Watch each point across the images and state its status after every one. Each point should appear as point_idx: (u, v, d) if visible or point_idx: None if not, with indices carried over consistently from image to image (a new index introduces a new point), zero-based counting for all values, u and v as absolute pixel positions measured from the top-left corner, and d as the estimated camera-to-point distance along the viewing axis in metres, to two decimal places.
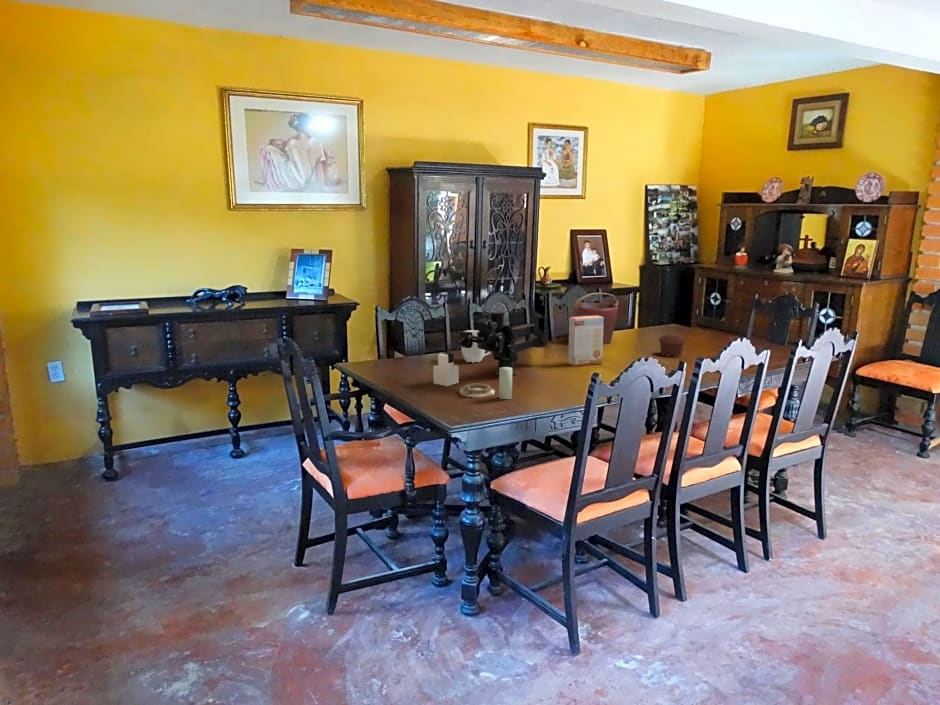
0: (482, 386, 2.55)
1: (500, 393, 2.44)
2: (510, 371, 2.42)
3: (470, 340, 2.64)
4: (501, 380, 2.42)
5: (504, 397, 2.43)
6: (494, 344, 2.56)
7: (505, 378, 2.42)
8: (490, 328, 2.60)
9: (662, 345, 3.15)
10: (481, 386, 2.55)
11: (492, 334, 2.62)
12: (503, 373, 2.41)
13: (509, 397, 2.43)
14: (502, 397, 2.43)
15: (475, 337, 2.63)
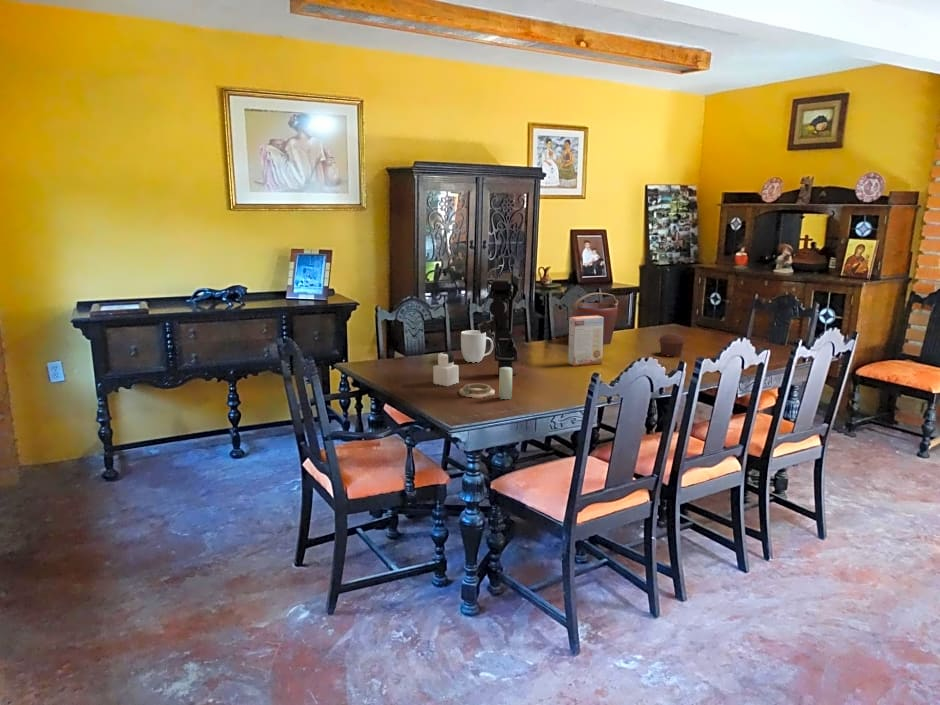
0: (482, 386, 2.55)
1: (500, 393, 2.44)
2: (510, 371, 2.42)
3: None
4: (501, 380, 2.42)
5: (504, 397, 2.43)
6: (502, 340, 2.50)
7: (506, 378, 2.42)
8: None
9: (662, 345, 3.15)
10: (481, 386, 2.55)
11: (494, 325, 2.53)
12: (503, 373, 2.41)
13: (509, 397, 2.43)
14: (502, 397, 2.43)
15: None
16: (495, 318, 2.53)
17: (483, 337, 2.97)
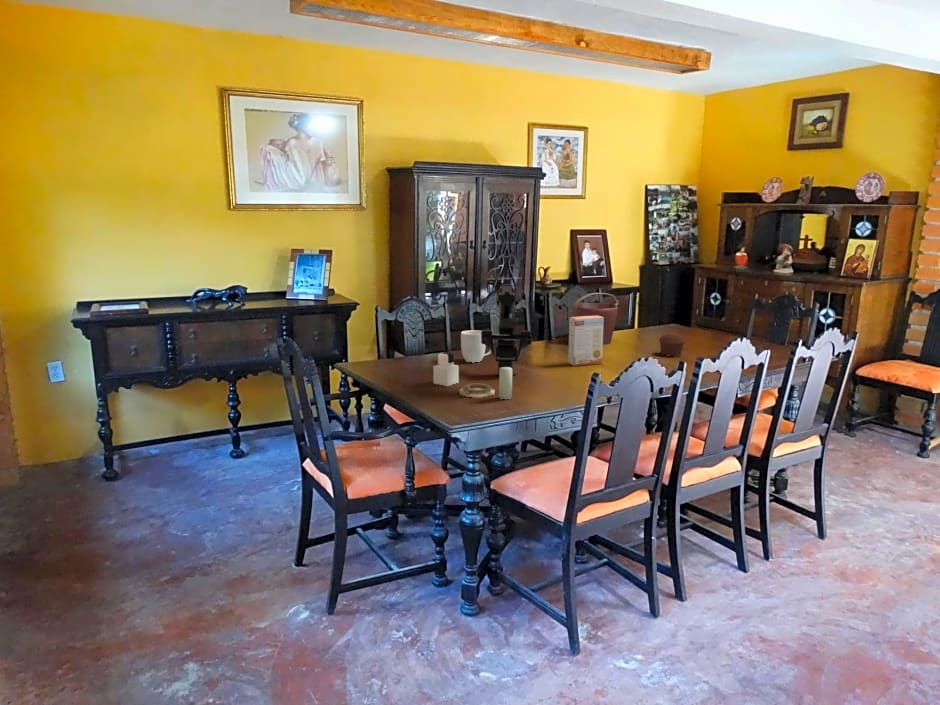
0: (482, 386, 2.55)
1: (500, 393, 2.44)
2: (510, 371, 2.42)
3: (493, 338, 2.55)
4: (501, 380, 2.42)
5: (504, 397, 2.43)
6: (526, 341, 2.53)
7: (506, 378, 2.42)
8: None
9: (662, 345, 3.15)
10: (481, 386, 2.55)
11: None
12: (503, 373, 2.41)
13: (509, 397, 2.43)
14: (502, 397, 2.43)
15: (498, 335, 2.54)
16: None
17: None
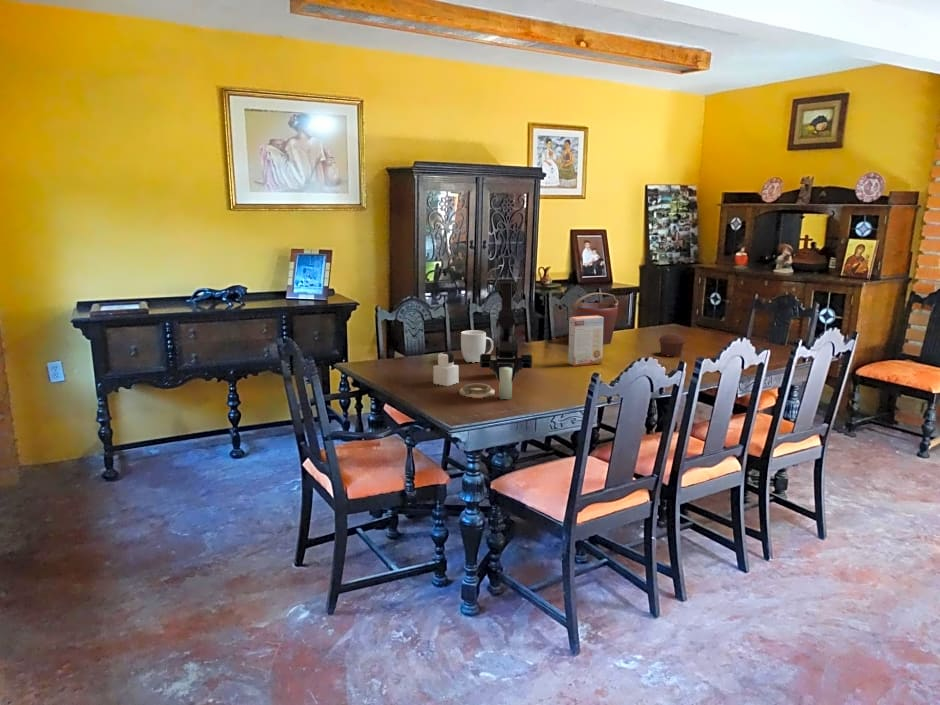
0: (482, 386, 2.55)
1: (500, 393, 2.44)
2: (510, 371, 2.42)
3: None
4: (501, 380, 2.42)
5: (504, 397, 2.43)
6: (520, 365, 2.46)
7: (505, 378, 2.41)
8: (514, 349, 2.44)
9: (662, 345, 3.15)
10: (481, 386, 2.55)
11: (514, 349, 2.47)
12: (503, 373, 2.41)
13: (509, 397, 2.43)
14: (502, 397, 2.43)
15: (503, 358, 2.47)
16: None
17: (483, 337, 2.97)
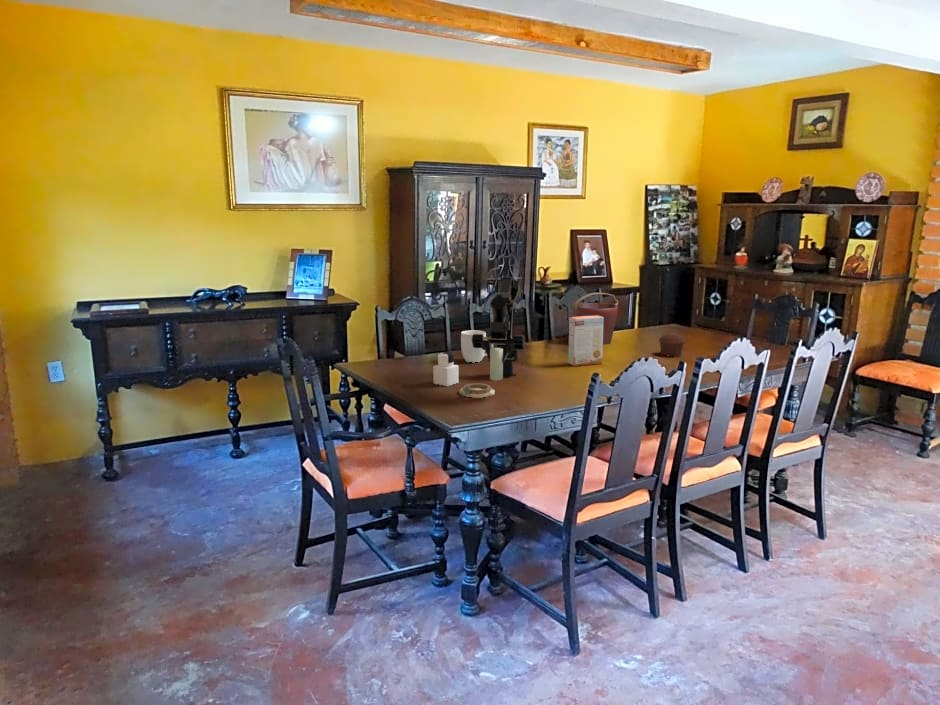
0: (482, 386, 2.55)
1: (490, 373, 2.44)
2: (500, 352, 2.42)
3: None
4: (491, 360, 2.43)
5: (494, 377, 2.43)
6: (512, 346, 2.46)
7: (495, 359, 2.42)
8: (506, 330, 2.44)
9: (662, 345, 3.15)
10: (481, 386, 2.55)
11: (506, 330, 2.47)
12: (493, 353, 2.42)
13: (499, 378, 2.44)
14: (493, 378, 2.44)
15: (495, 339, 2.47)
16: None
17: None
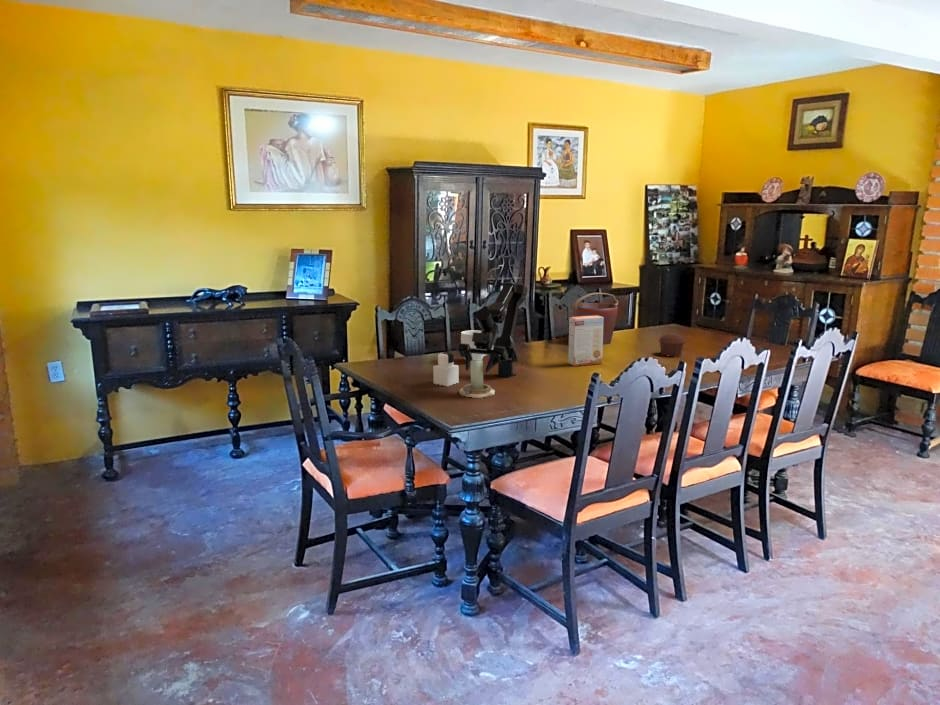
0: None
1: (471, 385, 2.51)
2: (479, 364, 2.47)
3: None
4: (471, 372, 2.49)
5: (473, 389, 2.50)
6: (498, 357, 2.50)
7: (474, 371, 2.48)
8: (487, 341, 2.49)
9: (662, 345, 3.15)
10: None
11: (490, 341, 2.52)
12: (472, 365, 2.48)
13: None
14: (472, 389, 2.50)
15: (476, 349, 2.53)
16: None
17: None
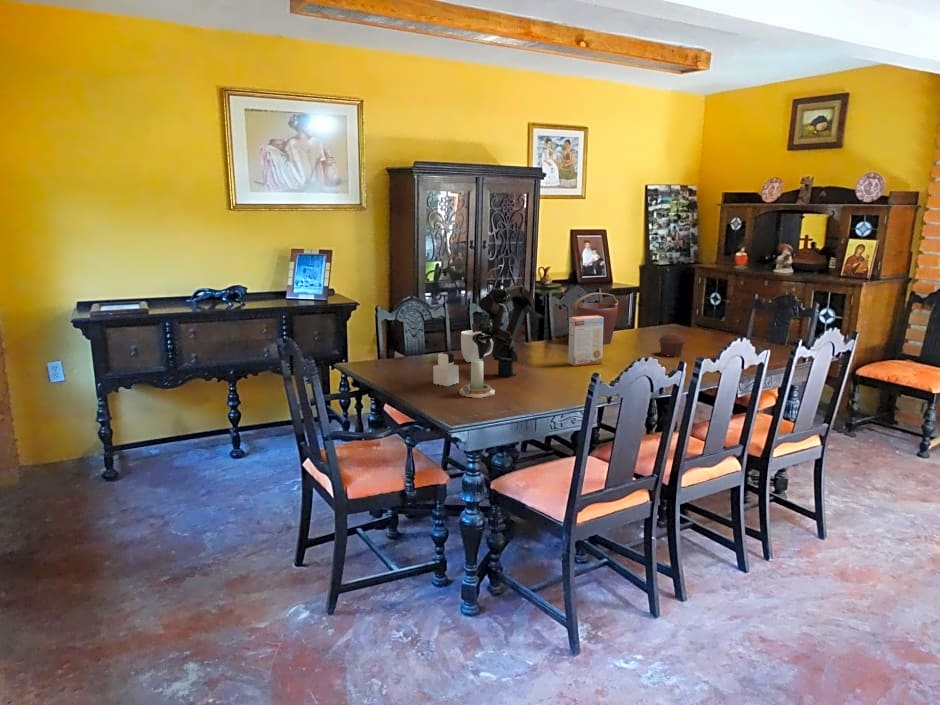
0: None
1: (471, 385, 2.51)
2: (479, 364, 2.47)
3: (484, 340, 2.66)
4: (471, 372, 2.49)
5: (473, 389, 2.50)
6: (500, 339, 2.55)
7: (474, 371, 2.48)
8: (485, 327, 2.57)
9: (662, 345, 3.15)
10: None
11: (491, 326, 2.59)
12: (473, 365, 2.48)
13: None
14: (472, 389, 2.50)
15: (484, 336, 2.64)
16: (492, 320, 2.60)
17: None
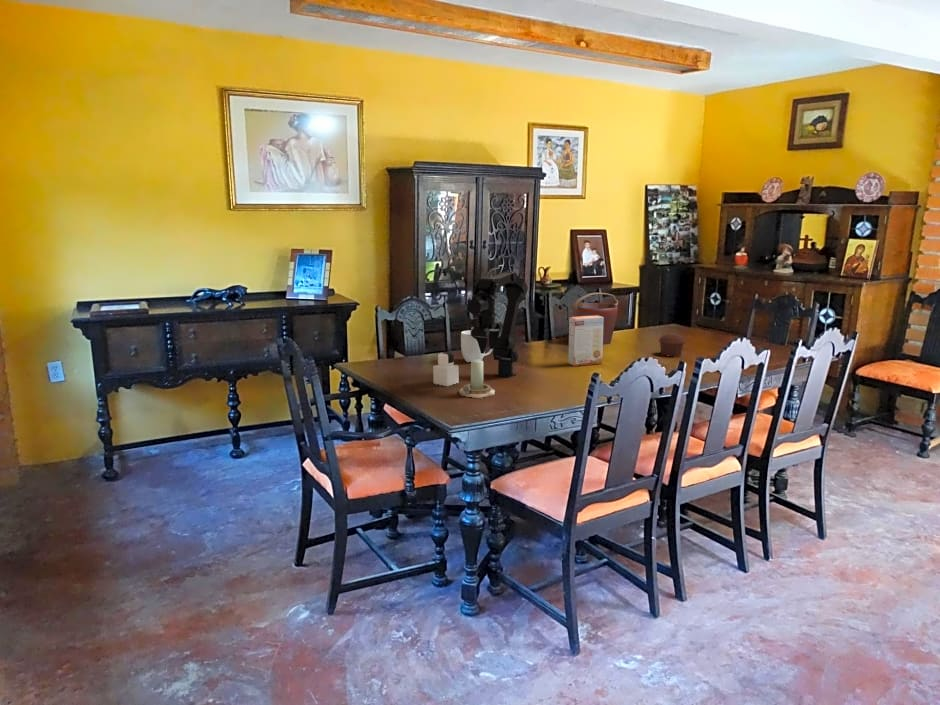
0: None
1: (471, 385, 2.51)
2: (479, 364, 2.47)
3: (491, 329, 2.65)
4: (471, 372, 2.49)
5: (473, 389, 2.50)
6: None
7: (474, 371, 2.48)
8: (471, 325, 2.59)
9: (662, 345, 3.15)
10: None
11: (477, 321, 2.58)
12: (473, 365, 2.48)
13: None
14: (472, 389, 2.50)
15: None
16: (479, 315, 2.58)
17: None
